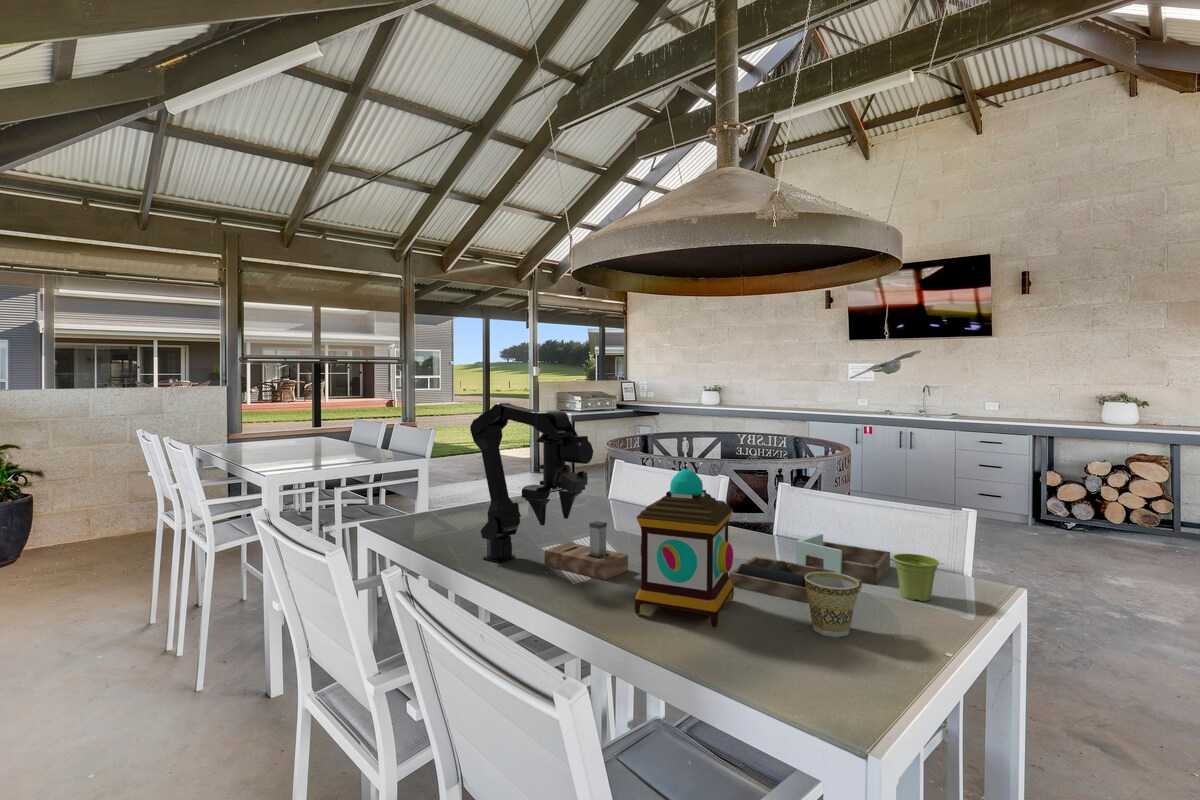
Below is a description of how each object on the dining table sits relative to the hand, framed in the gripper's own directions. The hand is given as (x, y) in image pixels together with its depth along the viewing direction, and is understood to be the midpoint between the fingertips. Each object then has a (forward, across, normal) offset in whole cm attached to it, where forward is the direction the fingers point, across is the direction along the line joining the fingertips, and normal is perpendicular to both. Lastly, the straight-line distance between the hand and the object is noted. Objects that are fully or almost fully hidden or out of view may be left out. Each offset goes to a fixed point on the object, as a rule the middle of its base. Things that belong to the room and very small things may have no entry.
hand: (554, 521), depth 147 cm
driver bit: (+13, +8, -8) cm, 17 cm away
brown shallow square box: (+13, +48, -60) cm, 78 cm away
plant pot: (+13, +36, -77) cm, 86 cm away
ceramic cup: (+13, +7, -67) cm, 69 cm away
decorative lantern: (+13, -1, -38) cm, 40 cm away
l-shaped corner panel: (+14, +46, -56) cm, 73 cm away
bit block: (+13, +8, -4) cm, 16 cm away
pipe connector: (+14, +24, -49) cm, 56 cm away
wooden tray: (+13, +26, -50) cm, 58 cm away
